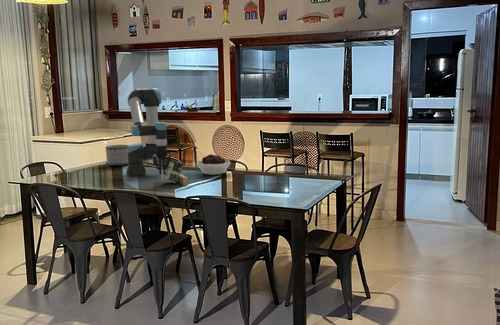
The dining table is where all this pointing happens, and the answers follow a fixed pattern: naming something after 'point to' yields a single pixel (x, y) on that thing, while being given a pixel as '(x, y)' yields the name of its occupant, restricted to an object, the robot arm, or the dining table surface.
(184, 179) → the board
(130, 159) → the robot arm
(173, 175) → the coffee can
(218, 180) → the dining table surface
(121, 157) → the planter
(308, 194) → the dining table surface
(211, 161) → the bowl of brown food
